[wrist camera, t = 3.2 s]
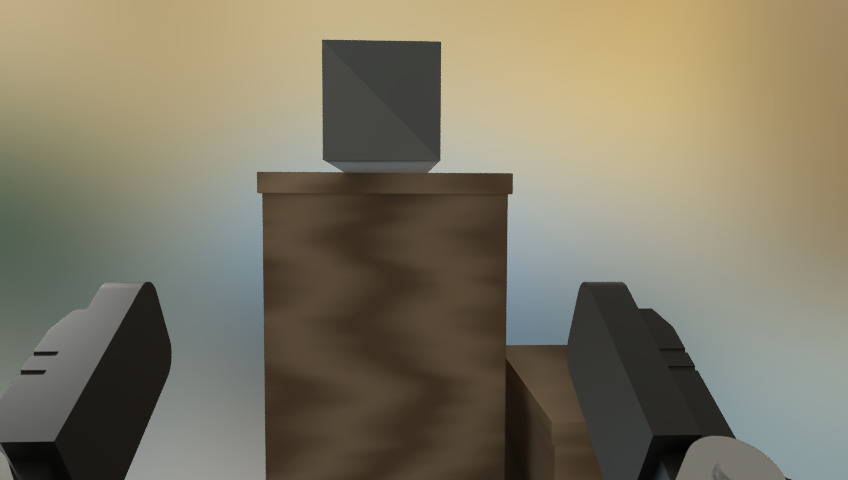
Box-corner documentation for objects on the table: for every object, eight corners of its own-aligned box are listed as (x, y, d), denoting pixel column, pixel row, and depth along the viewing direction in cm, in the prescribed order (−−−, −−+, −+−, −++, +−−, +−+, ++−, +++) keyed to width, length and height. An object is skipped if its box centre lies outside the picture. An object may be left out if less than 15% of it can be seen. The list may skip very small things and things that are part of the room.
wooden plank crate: (245, 886, 27) (234, 166, 25) (306, 611, 46) (302, 182, 44) (702, 864, 28) (726, 170, 26) (581, 603, 47) (590, 183, 45)
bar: (322, 159, 21) (322, 39, 20) (362, 183, 45) (362, 127, 44) (440, 160, 21) (440, 41, 21) (416, 183, 45) (416, 128, 45)
